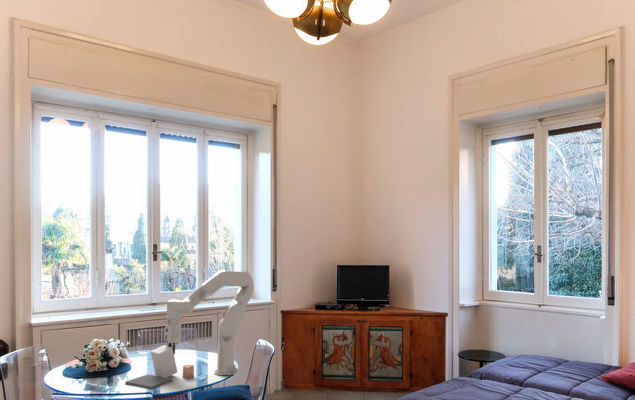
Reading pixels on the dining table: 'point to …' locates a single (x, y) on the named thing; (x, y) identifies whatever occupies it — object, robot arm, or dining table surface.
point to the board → (149, 381)
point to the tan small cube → (188, 371)
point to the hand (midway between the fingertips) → (171, 354)
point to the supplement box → (164, 361)
